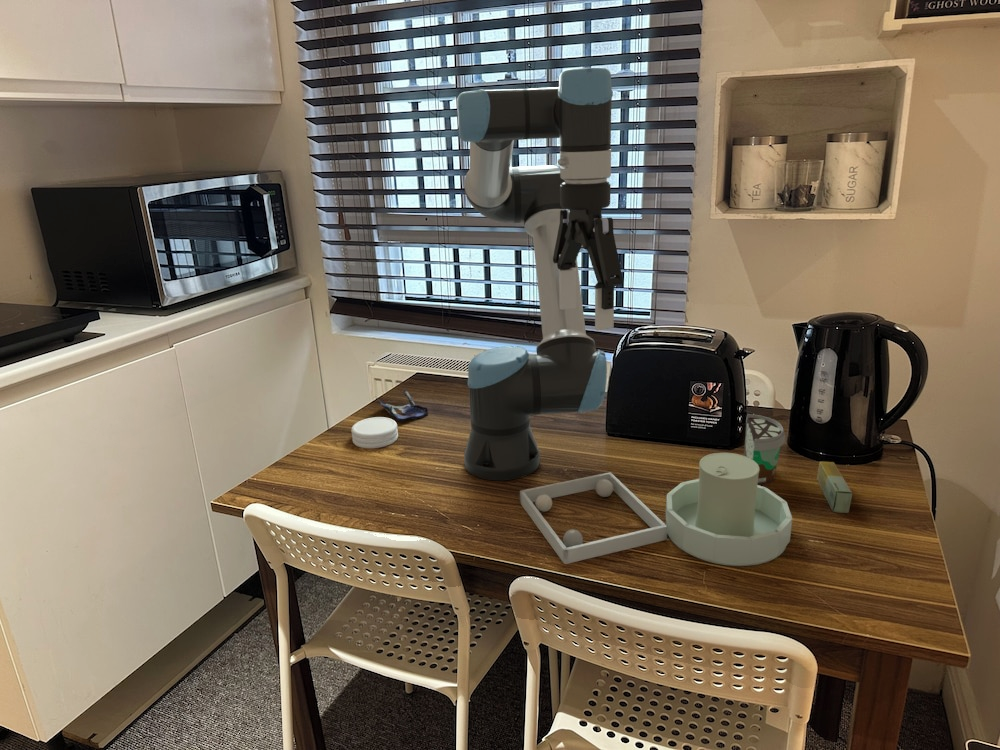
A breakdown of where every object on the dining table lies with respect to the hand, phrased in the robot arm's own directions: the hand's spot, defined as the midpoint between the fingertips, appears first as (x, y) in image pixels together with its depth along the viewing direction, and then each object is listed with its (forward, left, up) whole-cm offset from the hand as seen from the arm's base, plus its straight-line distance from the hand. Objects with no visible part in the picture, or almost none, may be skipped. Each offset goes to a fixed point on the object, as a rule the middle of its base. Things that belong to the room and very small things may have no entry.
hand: (585, 318), depth 113 cm
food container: (+2, +36, -35) cm, 50 cm away
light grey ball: (-2, +5, -35) cm, 35 cm away
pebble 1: (-2, -7, -35) cm, 35 cm away
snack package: (-55, -22, -35) cm, 69 cm away
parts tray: (+4, -1, -35) cm, 35 cm away
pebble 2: (+11, -7, -35) cm, 37 cm away
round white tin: (-44, -30, -35) cm, 64 cm away
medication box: (+13, +42, -35) cm, 56 cm away
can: (+15, +18, -34) cm, 42 cm away
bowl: (+16, +18, -35) cm, 42 cm away
